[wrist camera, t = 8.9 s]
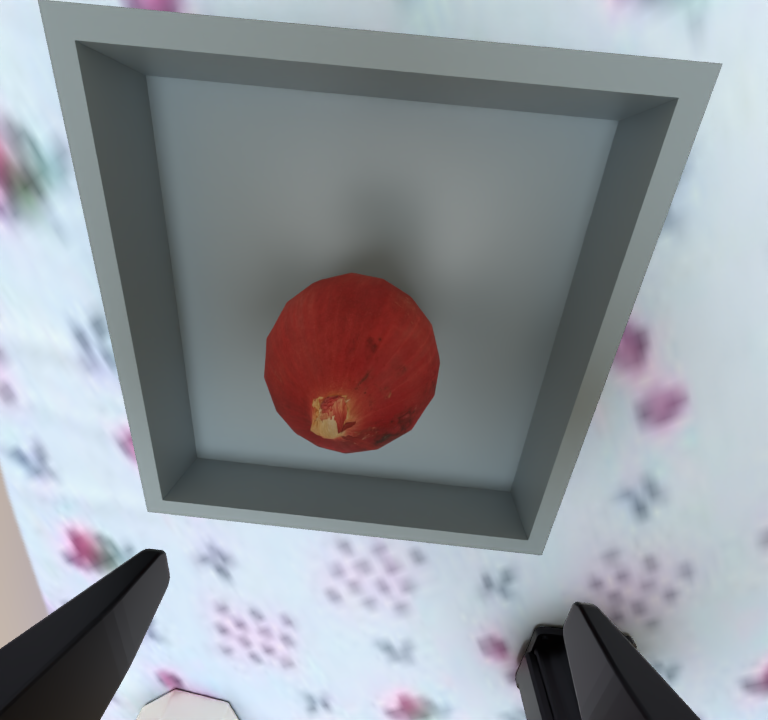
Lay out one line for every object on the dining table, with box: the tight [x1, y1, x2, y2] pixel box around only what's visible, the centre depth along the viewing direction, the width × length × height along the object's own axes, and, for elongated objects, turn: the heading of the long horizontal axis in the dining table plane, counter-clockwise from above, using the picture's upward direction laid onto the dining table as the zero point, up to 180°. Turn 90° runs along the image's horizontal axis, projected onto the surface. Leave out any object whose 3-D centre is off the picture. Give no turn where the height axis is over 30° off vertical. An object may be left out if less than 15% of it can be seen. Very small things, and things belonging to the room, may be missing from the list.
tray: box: [38, 0, 722, 555], centre depth 15 cm, size 18×18×4 cm
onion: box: [264, 272, 440, 454], centre depth 12 cm, size 6×6×8 cm
